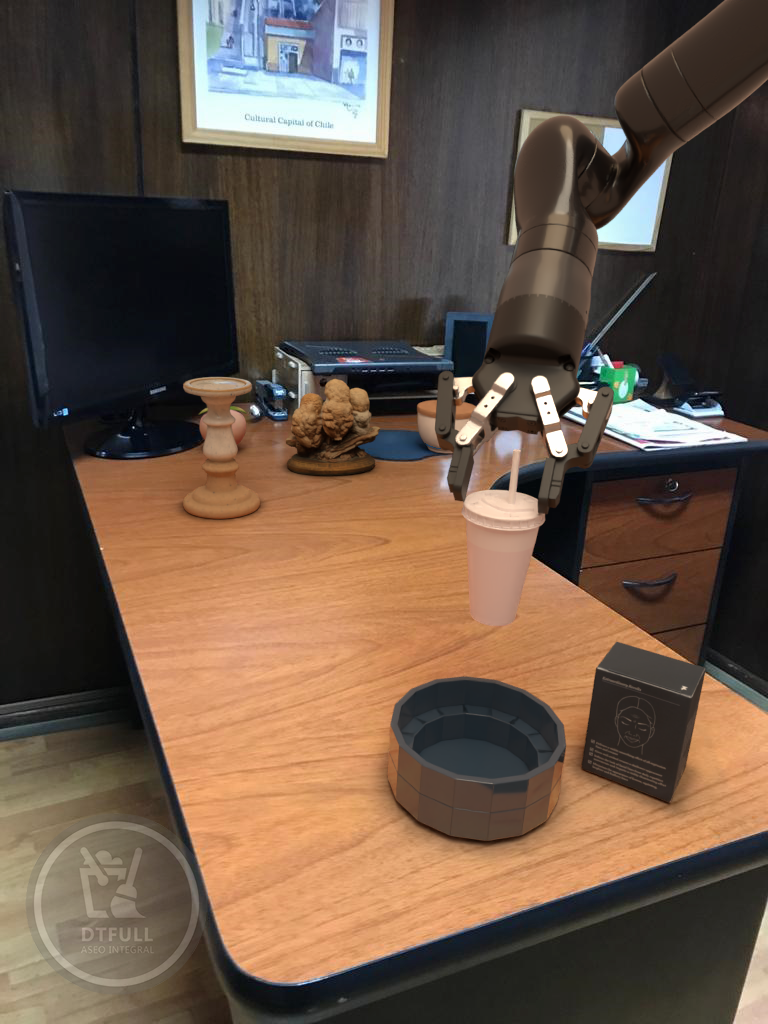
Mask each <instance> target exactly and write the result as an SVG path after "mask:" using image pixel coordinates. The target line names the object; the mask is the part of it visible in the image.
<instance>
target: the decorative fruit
mask: <svg viewBox="0 0 768 1024" xmlns="http://www.w3.org/2000/svg"><path fill="white" fill-rule="evenodd" d="M207 412H208V408H207V407H205V408H204V409H202V410H201V411H200V412H199V413H198V415H202V414H203V415H202V416H201V418H200V421H199V432H200V435H201V437H202V439H203V440H204V441H205V438H206V432H207V425H206V424H205V423H204V422H203V418H204V417H205V416H206V415H207ZM230 413H231V415H232V416H233V417H234V418H235V423H234V424H232V431H233V435H234V439H235V442H236V444H237V445H239V444H240V443H241V442H242V441H243V439H244V437H245V435H246V431H247V421H246V418H245V416H244V414H245V415H247V414H248V413H247V412H246V411H245V410H244V409H243V408H241V407H238V406H234V405H233V406H232V405H231V406H230Z"/></svg>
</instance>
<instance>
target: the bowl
mask: <svg viewBox="0 0 768 1024" xmlns="http://www.w3.org/2000/svg"><path fill="white" fill-rule="evenodd" d="M389 723H390V724H389V739H388V740H389V741H388V742H389V743H388V757H387V758H388V760H387V775H386V776H387V780H388V783H389V785H390V788H391V790H392V793H393V796H394V798H395V801H397V803H399V805H401V806H402V808H404V809H405V810H406V811H407V812H408V813H409V815H411V816H412V817H413V818H414V819H415V820H416V821H417V822H419V823H421V824H423V825H426V826H428V827H430V828H432V829H434V830H437V831H439V832H441V833H443V834H445V835H448V836H450V837H454V838H455V837H456V838H462V839H463V838H464V839H470V840H477V841H484V842H487V841H488V842H489V841H495V840H501V839H502V840H503V839H507V838H515V837H521V836H523V835H525V834H527V833H529V832H530V831H532V830H533V829H535V828H537V827H539V826H540V825H542V824H543V823H545V822H547V821H548V819H549V817H550V815H551V813H552V812H553V810H554V808H555V806H556V805H557V803H558V801H559V797H560V790H561V784H562V776H563V771H564V764H565V756H566V751H567V740H566V731H565V725H564V723H563V721H562V720H561V719H560V718H559V716H558V715H557V714H556V712H555V711H554V710H553V709H552V707H551V706H550V705H549V704H548V703H546V702H545V701H544V700H542V699H540V698H539V697H537V696H535V695H534V694H533V693H531V692H529V691H528V690H526V689H524V688H521V687H519V686H515V685H512V684H509V683H507V682H504V681H501V680H499V679H494V678H493V679H492V678H485V677H484V678H483V677H476V676H467V675H463V676H462V675H461V676H454V677H452V676H451V677H443V678H436V679H432V680H430V681H427V682H424V683H422V684H420V685H417V686H414V687H412V688H411V689H409V690H408V691H407V692H406V693H405V694H404V695H403V696H402V697H401V698H400V699H399V700H397V701H396V702H395V704H394V705H393V709H392V715H391V719H390V722H389Z"/></svg>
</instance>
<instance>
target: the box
mask: <svg viewBox="0 0 768 1024" xmlns="http://www.w3.org/2000/svg"><path fill="white" fill-rule="evenodd" d="M705 674H706V667H705V666H701V665H699V664H695V663H691V662H688V661H683V660H680V659H677V658H675V657H674V658H673V657H670V656H667V655H663V654H660V653H658V652H654V651H650V650H647V649H643V648H640V647H637V646H634V645H629V644H626V643H624V642H620V641H616V642H614V644H612V647H611V648H610V649H609V650H608V652H607V653H606V654H605V656H604V657H603V659H602V660H601V661H600V662H599V664H598V665H597V666H596V668H595V671H594V678H593V684H592V692H591V700H590V706H589V711H588V712H589V713H588V718H587V726H586V733H585V740H584V745H583V746H584V747H583V753H582V760H581V769H582V770H583V771H586V772H588V773H592V774H595V775H598V776H599V777H602V778H605V779H607V780H610V781H612V782H615V783H618V784H621V785H622V786H625V787H628V788H631V789H633V790H636V791H638V792H641V793H643V794H646V795H648V796H650V797H654V798H656V799H659V800H661V801H664V802H666V803H671V802H672V800H673V798H674V795H675V793H676V791H677V788H678V786H679V784H680V781H681V779H682V776H683V775H684V773H685V769H686V768H687V762H688V758H689V753H690V749H691V744H692V739H693V733H694V728H695V723H696V719H697V715H698V709H699V704H700V699H701V695H702V690H703V685H704V680H705V676H706V675H705Z"/></svg>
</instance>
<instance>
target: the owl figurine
mask: <svg viewBox="0 0 768 1024" xmlns="http://www.w3.org/2000/svg"><path fill="white" fill-rule="evenodd" d="M324 395H325V401H324V399H323V398H322V397H321V395H319V394H318V393H313V392H312V393H311V392H310V393H309V392H308V393H306V394H304V395H303V396H302V397H301V399H300V402H299V407H297V408H296V409H294V412H293V414H292V420H291V427H290V430H291V433H292V435H289V437H287V438H286V439H285V444H286V445H287V446H288V447H291V448H295V449H296V453H295V454H293V455H292V456H291V458H289V459H288V460H287V462H286V466H287V469H288V470H290V471H292V472H293V473H295V474H300V475H309V476H329V477H331V476H348V475H357V474H361V473H365V472H368V471H371V470H372V469H373V468H374V467H375V466H376V459H375V458H374V457H373V456H371V454H370V453H368V452H366V449H365V448H361V447H360V446H363V445H366V444H370V443H372V442H375V441H376V438H377V437H378V436H379V433H380V431H381V427H379V426H376V425H375V426H371V425H370V423H371V420H372V419H371V418H372V412H370V411H369V410H370V400H369V395H368V392H367V391H366V390H365V389H362V388H359V387H354V388H351V389H350V387H349V386H348V385H347V383H346V382H345V381H343V380H341V379H337V378H333V379H330V380H329V381H328V382H326V384H325V386H324Z"/></svg>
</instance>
